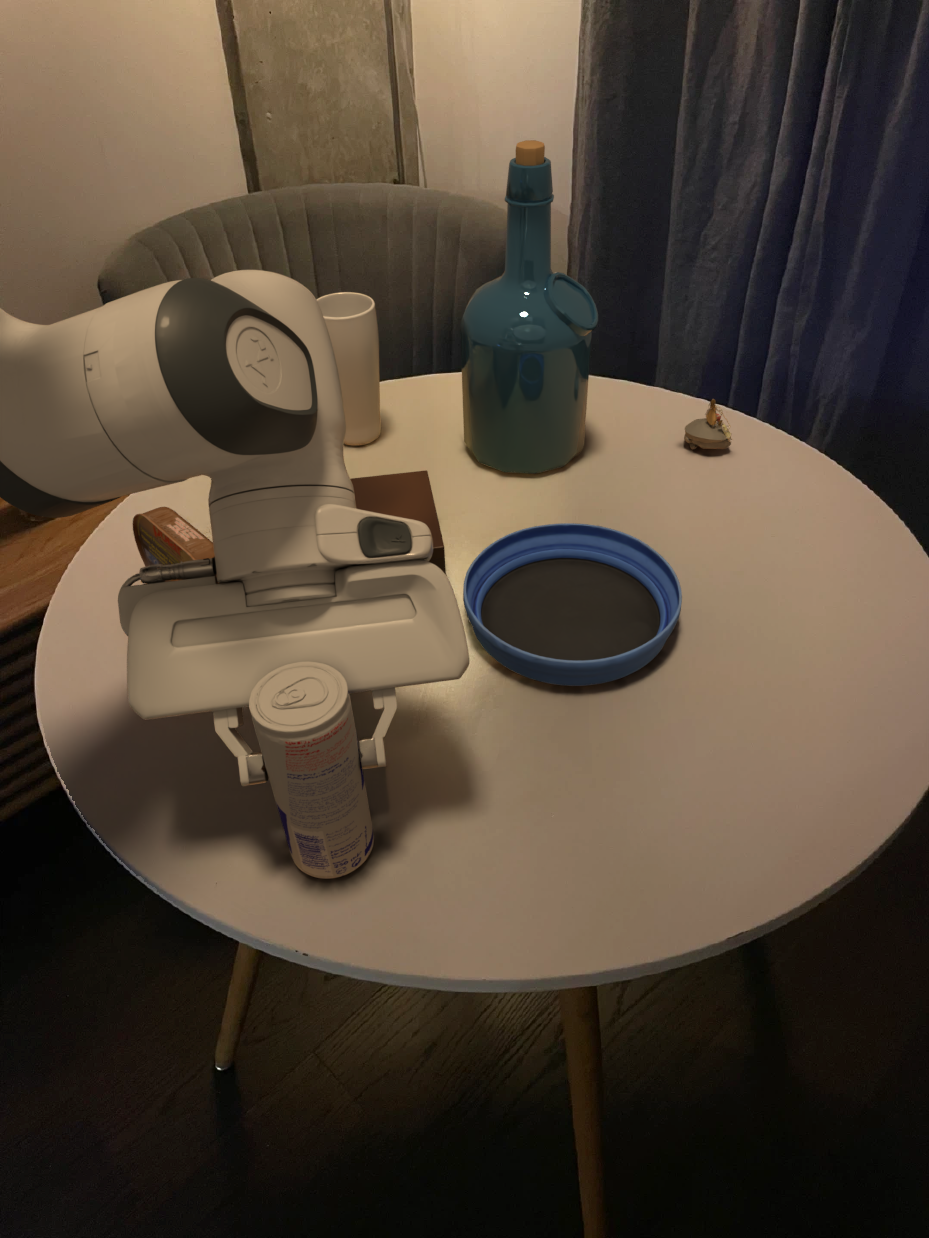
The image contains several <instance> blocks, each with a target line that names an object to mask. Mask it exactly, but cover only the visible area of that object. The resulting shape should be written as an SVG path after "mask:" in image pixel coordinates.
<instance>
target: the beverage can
mask: <svg viewBox="0 0 929 1238" xmlns="http://www.w3.org/2000/svg"><path fill="white" fill-rule="evenodd" d="M248 709H249V712H250V715H251V720H252V724H253V728H254V730H255V731H254V732H255V735H256V738H257V742H258V744H259V749H260V752H262V756H263V759H264V763H265V766H266V770H267V773H268V777H269V783H270V784H269V785H270V786H271V791H272V794H273V797H274V801H275V805H276V808H277V811H278V814H279V818H280V822H281V825H282V829H283V833H284V835H285V840H286V843H287V846H288V850H289V853H290V856H291V857H290V858H291V859H292V861H293V863H294V865H296V867H297V868H298V869H299V870H300V871H301V872H303V873H304V874H306V875H308V876H311V877H314V878H318V879H337V878H340V877H343V876H346V875H348V874H350V873H352V872H354V871H356V870H357V869H358V868H359V867H361V866H362V865H363V864H364V863H365V861H366V860H367V859H368V858H369V856H370V854H371V852H372V850H373V848H374V843H375V833H374V828H373V824H372V823H373V822H372V817H371V810H370V805H369V799H368V794H367V793H368V792H367V788H366V781H365V776H364V769H362V764H361V752H360V747H359V739H358V735H357V729H356V723H355V717H354V712H353V705H352V701H351V693H349V692H348V687H347V683H346V681H345V678H344V677H343V676H342V674H341V673H340V672H338V671H337V670H336V669H335V668H333V667H331V666H329V665H326V664H322V663H317V662H297V663H292V664H288V665H285V666H282V667H279V668H277V669H275V670H273V671H272V672H270V673H268V674H267V675H266V676H264V677H263V678H262V679H261V680H260V681H259V682H258V683H257V684H256V685H255V687H254V689H253V690H252V692H251V695H250V699H249V707H248Z"/></svg>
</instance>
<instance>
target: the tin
mask: <svg viewBox="0 0 929 1238" xmlns="http://www.w3.org/2000/svg"><path fill="white" fill-rule="evenodd" d="M132 533H133V537H134V541H135V545H136V547H137V550H138V553H139V555H140V557H141V560H142V562H143V564H144V567H146V566H150V565H157V564H162V565H171V564H177V563H181V562H186V561H191V560H200V559H206V558H214V556H215V554H214V548H213V540H211V539H209V537H207V536H206V535H204V534H203V532H201V531H199V530H198V528H196V527H195V526H194V525H192V524H191V522H189V521H187V520H186V519H185V518H184V517H183V516H181V515H180V514H179V513H178V512H176V511H175V510H174V509H172V508H170V507H168V506H159V507H156V508H153V509H150V510H148V511H145V512H141V513H136V514H135V515H134V516H133V517H132ZM216 577H217V575H216ZM181 580H182V579H181ZM171 581H177V580H171ZM165 582H168V581H165ZM218 584H219V583H218Z"/></svg>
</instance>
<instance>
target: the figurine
mask: <svg viewBox="0 0 929 1238" xmlns="http://www.w3.org/2000/svg"><path fill="white" fill-rule="evenodd" d="M716 403H717V402H716V399H714V398H712V399H711V400H710V401H709V404H708V409H707V410H706V412H705V418H704V417H703V418H697V419H693V420H692V421H691V422H689V423H688V424H686V425H685V426H684V436H683V440H684V441H685V442H686V443H688V445H689V447H690V449H691V450H695V449H696V448H698V447H699V448H700V449H703V450H725V449H727V448H730V447H731V445H732V443H733V441H734V439H733V438H732V435H733V433H732V432H731V431H730V429H731V423H730V422H729V421H728V419H727V418H726V416H725V415H724V413H723V412H724V411H723V409H722V407H719V406H717V405H716ZM717 412H719V413H717ZM722 416H723V417H724V419H725V420H726V422H727V424H728V425H726V423H724V421H723V419H722Z"/></svg>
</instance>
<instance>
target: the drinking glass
mask: <svg viewBox="0 0 929 1238" xmlns="http://www.w3.org/2000/svg"><path fill="white" fill-rule="evenodd" d="M316 300H317V302H318V304H319V307H320V309H321V311H322V314H323V317H324V320H325V323H326V326H327V329H328V332H329V336H330V339H331V343H332V347H333V351H334V355H335V359H336V364H337V369H338V374H339V379H340V385H341V391H342V398H343V405H344V412H345V421H346V433H345V439H344V445H347V446H363V445H367V444H370V443H372V442H374V441H376V440H377V439H378V438H379V437H380V435H381V433H382V419H381V381H380V378H381V377H380V376H381V374H380V371H381V370H380V368H381V367H380V364H381V363H380V335H379V325H378V317H377V309H376V303H375V301H374V299H373V298H372V297H370V296H369V295H367V294H364V293H360V292H353V291H352V292H351V291H341V292H333V293H329V294H325V295H322V296H320V297H318V298H316Z"/></svg>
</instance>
